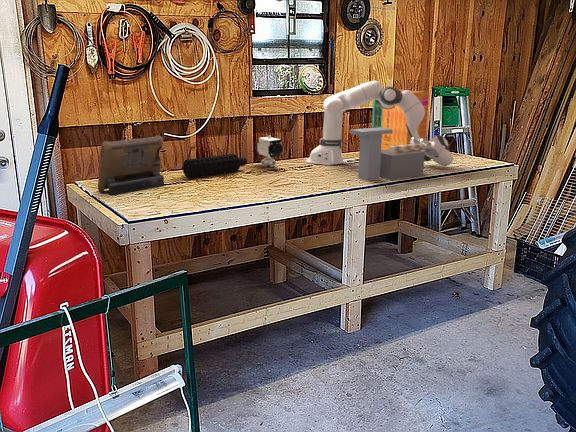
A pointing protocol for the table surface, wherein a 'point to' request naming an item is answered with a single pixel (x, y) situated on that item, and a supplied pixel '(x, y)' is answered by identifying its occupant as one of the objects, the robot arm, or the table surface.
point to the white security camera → (269, 150)
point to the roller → (212, 165)
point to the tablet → (130, 165)
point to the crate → (401, 164)
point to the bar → (406, 148)
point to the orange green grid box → (398, 122)
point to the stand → (370, 151)
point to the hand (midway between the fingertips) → (417, 138)
